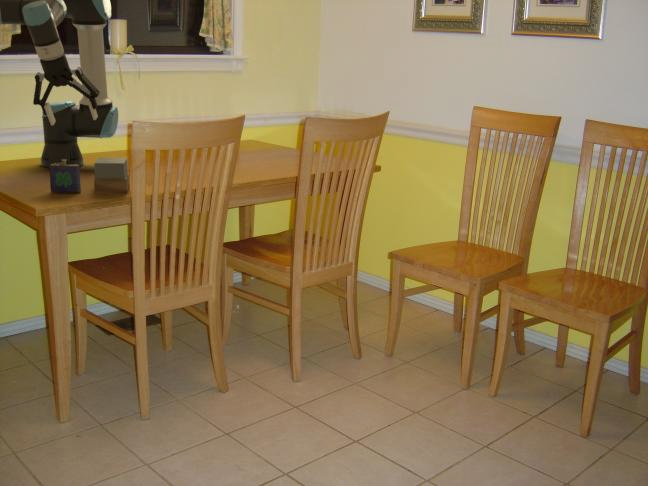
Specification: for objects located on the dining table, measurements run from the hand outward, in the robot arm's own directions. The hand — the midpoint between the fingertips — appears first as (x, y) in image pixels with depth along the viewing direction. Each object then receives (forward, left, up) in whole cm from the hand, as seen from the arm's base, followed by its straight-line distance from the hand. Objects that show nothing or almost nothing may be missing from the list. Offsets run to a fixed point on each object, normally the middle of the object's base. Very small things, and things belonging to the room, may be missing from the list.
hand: (74, 120), depth 236 cm
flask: (+2, -4, -23) cm, 23 cm away
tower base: (-1, +10, -23) cm, 25 cm away
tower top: (-1, +10, -18) cm, 21 cm away
